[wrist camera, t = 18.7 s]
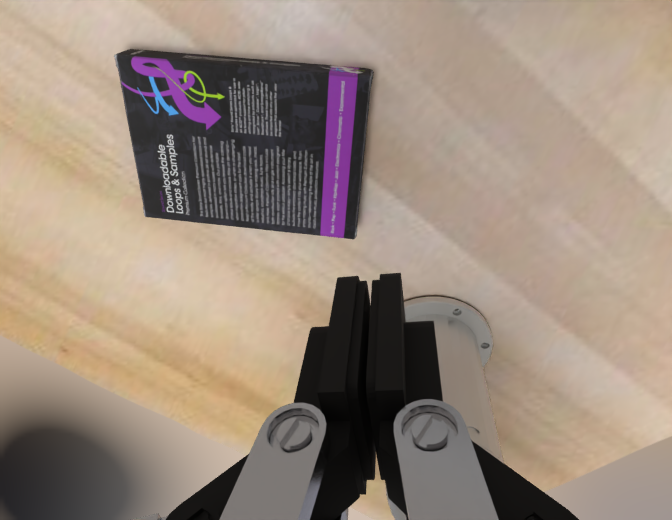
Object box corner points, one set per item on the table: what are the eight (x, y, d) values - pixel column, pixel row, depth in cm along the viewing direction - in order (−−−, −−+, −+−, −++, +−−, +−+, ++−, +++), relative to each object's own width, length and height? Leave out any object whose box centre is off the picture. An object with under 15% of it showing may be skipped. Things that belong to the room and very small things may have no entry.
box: (374, 66, 37) (130, 44, 37) (374, 76, 34) (108, 51, 34) (357, 222, 44) (154, 202, 45) (356, 241, 41) (139, 219, 42)
